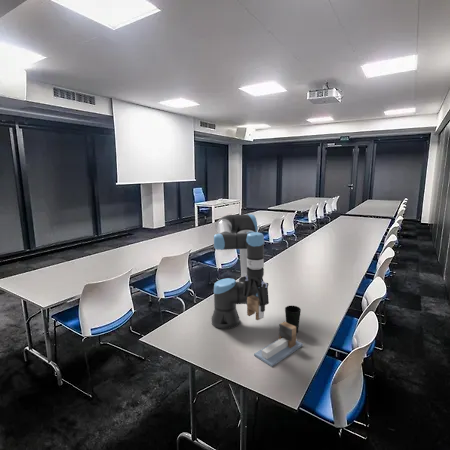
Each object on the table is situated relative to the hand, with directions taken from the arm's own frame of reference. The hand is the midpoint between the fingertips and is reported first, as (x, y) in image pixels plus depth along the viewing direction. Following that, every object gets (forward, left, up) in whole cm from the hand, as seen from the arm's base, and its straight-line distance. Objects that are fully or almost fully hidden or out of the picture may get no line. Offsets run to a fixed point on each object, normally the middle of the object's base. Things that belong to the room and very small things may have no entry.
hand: (255, 314), depth 135 cm
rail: (+11, +4, -15) cm, 19 cm away
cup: (+5, +22, -15) cm, 27 cm away
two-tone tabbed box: (0, 0, -1) cm, 1 cm away
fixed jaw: (+11, +10, -14) cm, 20 cm away
